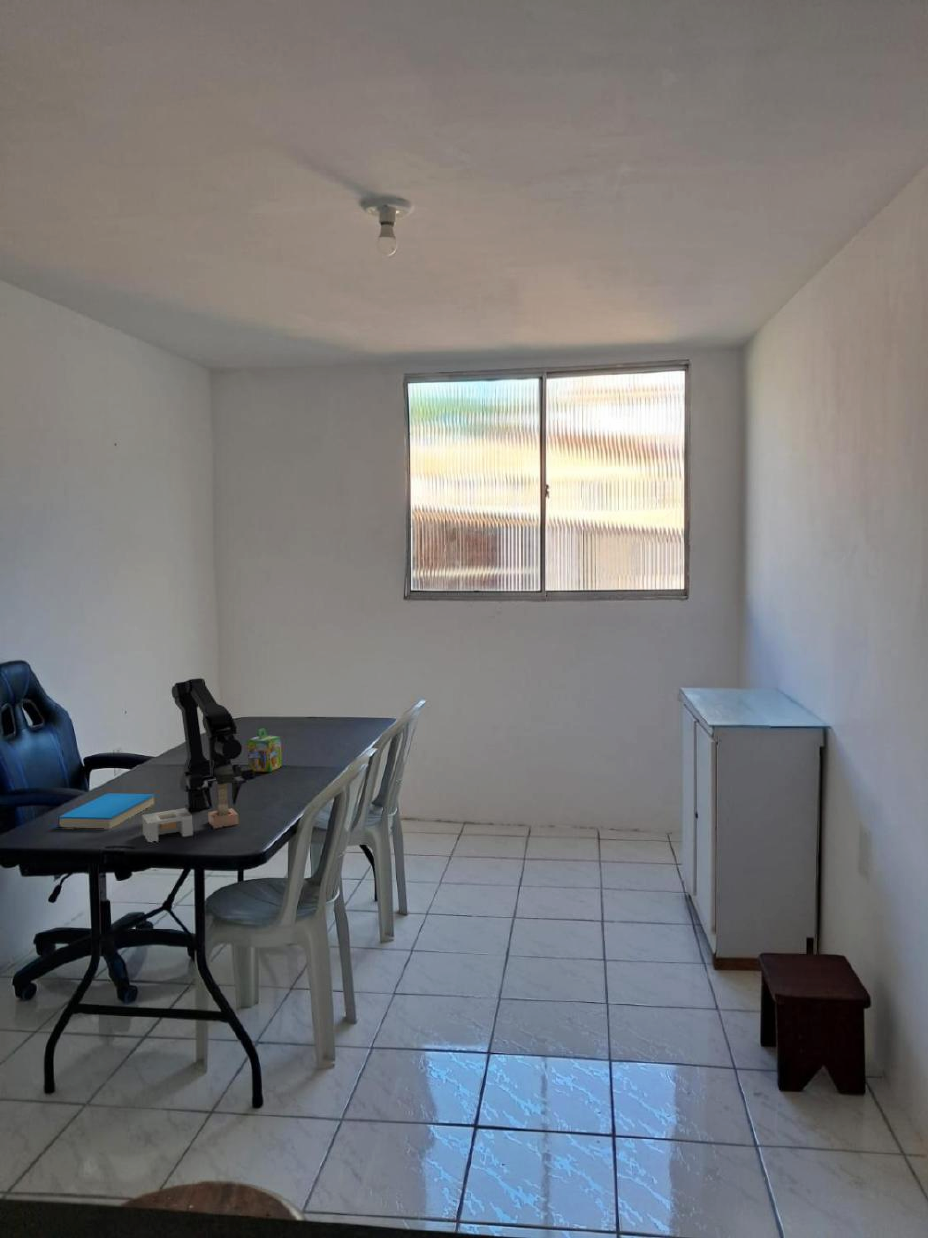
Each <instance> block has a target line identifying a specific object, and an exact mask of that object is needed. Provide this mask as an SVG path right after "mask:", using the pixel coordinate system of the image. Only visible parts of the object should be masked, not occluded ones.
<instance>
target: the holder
mask: <svg viewBox="0 0 928 1238" xmlns="http://www.w3.org/2000/svg"><path fill="white" fill-rule="evenodd" d="M207 814H208V815H207V816H208V818H207V819H208V823H209V825H211V827H212V826H213V827H212V828H213V829H218V828H224V827H223V826H225V827H231V826H235V825H236V826H237V825H239V814H238V812H236V810H235V809H233V808H232V807H231V808H228V814H226V815H220V816H218V815H217V810H214V811H208V812H207Z"/></svg>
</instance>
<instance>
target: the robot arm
mask: <svg viewBox="0 0 928 1238" xmlns="http://www.w3.org/2000/svg"><path fill="white" fill-rule="evenodd" d="M171 696H172V698H173V699H174V703H175V705H176V706H177V707H178V709H179V710H180V711H181V717H182V724H183V731H184V732H183V733H184V741H185V748H186V756H187V758H186V760H185V762H184V765H183V767H182V768H183V769H182V770H183V773H182V776H181V778H180V781H179V786H180V790H181V791H183V792H185V793H186V795H187V804H185V805H184V808H186V809H187V810H188V812H194V811H201V810H207V809H210V810H211V809H212V808H213V802H212V796H211V792H210V791H211V788H212V787H213V784H214V782H217V783H218V784H220V785H223V784H225V783H227V784H231V801H232V805H236V802H237V798H238V795H239V793H240V790H241V787H242V786H243V784H246V783H247V781H251V780H255V779H256V772H254V770H253V769H251V768H250V767H249V765H248V766H241V763H237V764H232V761H231V760H234V759H235V760H236V759H237V758H238V757H239V756H240V755H241V753H242V751H243V749H242V748H243V746H242V745H241V742H240V741H239V740H237V739H235V735H236V734H237V729H238V727H237V725H236V723H235V720H234V718H233V716H232V714H231V713H230V712H229V710H228V709H227V708H226V707H225V706H224V705H221V704H219V703H218V702H216V699H215V698H214V696H213V695H212V693H211V691H210V690H209V689H208V687H207V685H206V681H205V679H204V678H202V677H199V678H191V679H188V680H186V681H181V682H175V683H174V685H173V686H172V687H171ZM198 708H199V710H200V711H201V713H202V720H201V721H202V726H203V729H204V730H205V733H206V737H207V739H208V740H207V742H208V759H207V758H206V757H205V756H204V751H203V745H202V743H203V742H202V736H201V727H200V722H199V721H200V719H199V712H198Z"/></svg>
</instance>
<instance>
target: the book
mask: <svg viewBox="0 0 928 1238" xmlns="http://www.w3.org/2000/svg"><path fill="white" fill-rule="evenodd" d="M154 797H155V794H154V793H153V794H151V793H149V794H148V793H106V794H103V795H102V796H99V797H97V798H95V799H93V800H91V801H89V802H87V803H84V804H83V805H80V806H79V807H77V808H74V809H72V810H70V811H68V812H65V813H64V814H62V815H59V818H58V821H57V822H58V827H59V826H62V827H86V828H104V829H103V830H111V829H110V828H112V827H113V826H115V827H117V826H118V824H119V825H121V824H122V823H124V822H125V821H124V820H126V819H128V818H130V819H132V818H133V817H135V816H136V815H135V814H137V813H139V812H140V811H142V812H144V811H145V809H146V808H148V807H150V806H151V805H153V804H154V805H155V798H154ZM154 805H153V806H154ZM151 807H152V806H151ZM151 807H150V808H151ZM148 809H149V808H148ZM143 810H144V811H143ZM146 810H147V809H146ZM139 814H140V813H139ZM134 815H135V816H134ZM137 815H138V814H137ZM132 816H133V817H132ZM131 817H132V818H131ZM128 820H129V819H128ZM123 821H124V822H123ZM126 821H127V820H126ZM121 822H122V823H121ZM120 823H121V824H120ZM116 825H117V826H116ZM113 828H114V827H113ZM113 828H112V829H113Z"/></svg>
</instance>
